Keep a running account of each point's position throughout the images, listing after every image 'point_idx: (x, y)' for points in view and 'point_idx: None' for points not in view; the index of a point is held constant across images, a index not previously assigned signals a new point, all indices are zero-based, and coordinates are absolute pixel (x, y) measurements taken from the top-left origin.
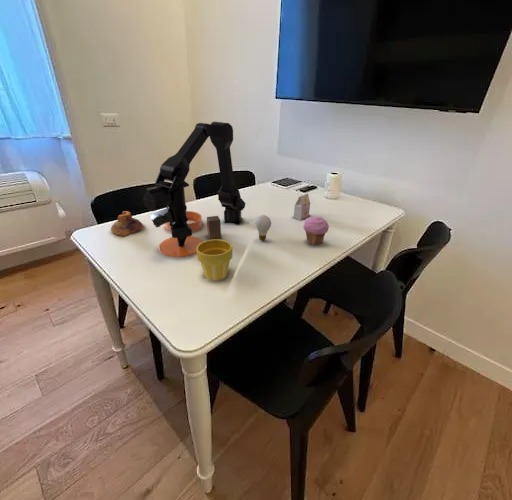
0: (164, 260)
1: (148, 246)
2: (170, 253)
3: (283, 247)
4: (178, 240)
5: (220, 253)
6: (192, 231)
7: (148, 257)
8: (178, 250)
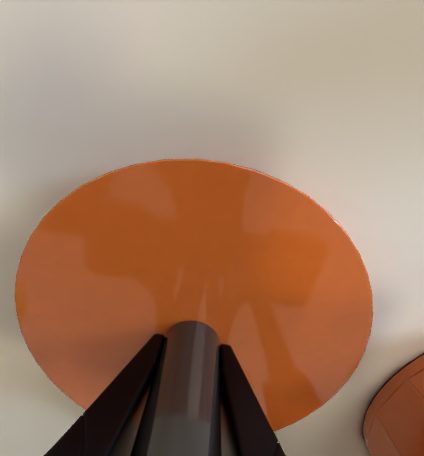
0: (29, 157)
1: (383, 74)
2: (68, 233)
3: None
4: (96, 401)
5: None
6: (369, 436)
7: (130, 9)
8: (104, 302)
